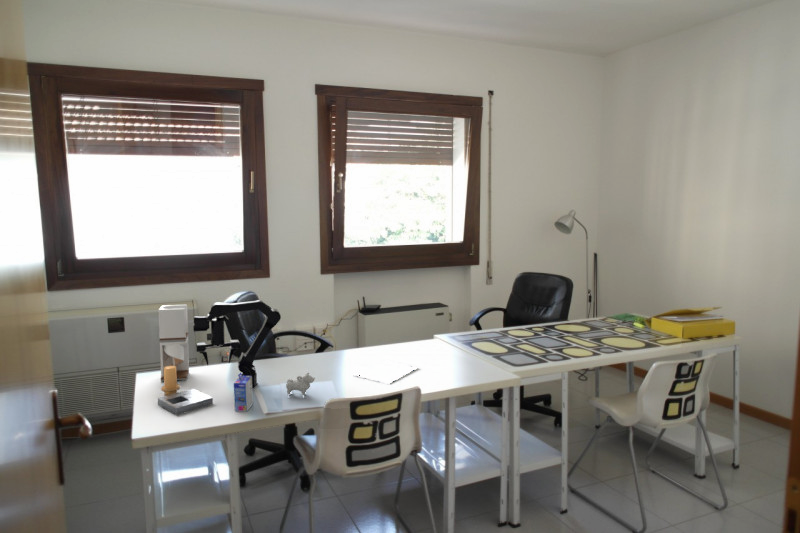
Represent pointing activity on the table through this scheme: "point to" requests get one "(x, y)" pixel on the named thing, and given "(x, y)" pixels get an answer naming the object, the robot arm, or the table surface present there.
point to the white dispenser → (174, 339)
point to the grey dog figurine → (300, 383)
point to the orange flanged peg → (170, 381)
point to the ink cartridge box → (243, 393)
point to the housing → (185, 401)
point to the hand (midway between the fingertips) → (218, 363)
